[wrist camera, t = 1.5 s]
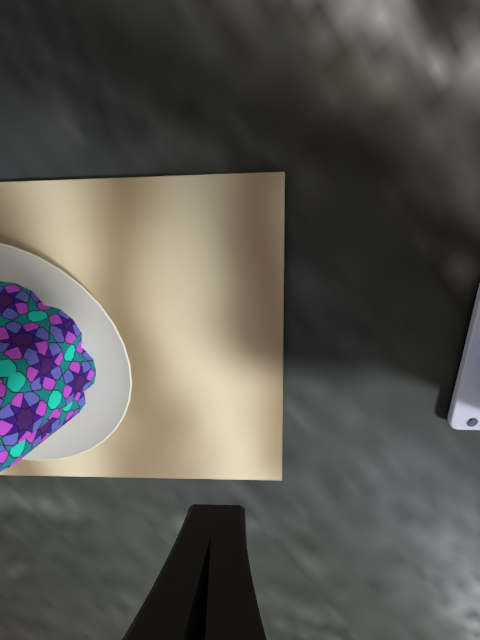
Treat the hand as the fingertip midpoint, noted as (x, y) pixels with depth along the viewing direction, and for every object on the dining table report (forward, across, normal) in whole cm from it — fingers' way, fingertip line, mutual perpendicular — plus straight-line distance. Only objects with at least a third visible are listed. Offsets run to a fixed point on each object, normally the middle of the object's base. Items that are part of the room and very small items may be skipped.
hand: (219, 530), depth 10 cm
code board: (+9, +12, 0) cm, 15 cm away
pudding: (+9, +11, 0) cm, 14 cm away
